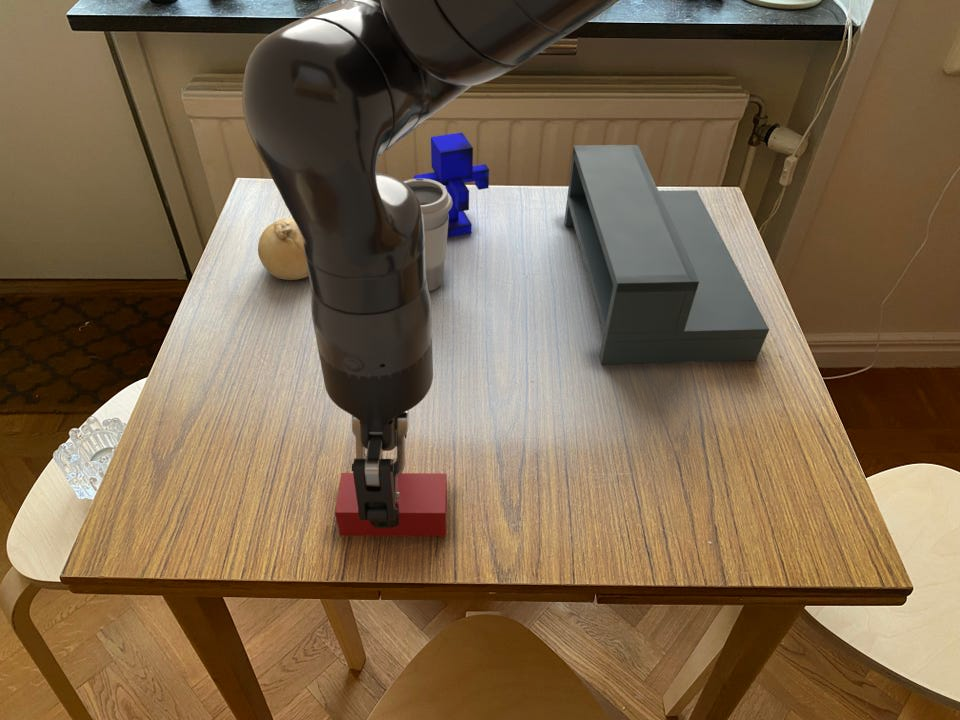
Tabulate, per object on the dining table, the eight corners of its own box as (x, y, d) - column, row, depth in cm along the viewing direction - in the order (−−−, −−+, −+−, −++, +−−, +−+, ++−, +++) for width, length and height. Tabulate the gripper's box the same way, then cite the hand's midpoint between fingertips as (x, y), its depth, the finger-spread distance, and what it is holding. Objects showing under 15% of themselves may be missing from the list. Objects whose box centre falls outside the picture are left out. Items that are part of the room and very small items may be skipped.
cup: (452, 262, 87) (451, 175, 79) (454, 297, 83) (453, 208, 74) (394, 263, 87) (387, 176, 78) (392, 298, 82) (385, 209, 74)
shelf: (756, 360, 76) (790, 279, 68) (601, 364, 75) (617, 283, 67) (689, 219, 95) (709, 143, 88) (564, 221, 94) (573, 145, 87)
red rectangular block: (447, 496, 63) (446, 473, 60) (446, 536, 60) (445, 513, 58) (345, 496, 63) (341, 472, 60) (339, 535, 60) (334, 512, 57)
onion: (254, 260, 87) (241, 210, 82) (315, 242, 90) (306, 193, 85) (276, 296, 82) (264, 246, 77) (340, 276, 85) (332, 226, 80)
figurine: (412, 234, 91) (408, 148, 83) (440, 205, 96) (438, 122, 88) (465, 250, 89) (466, 163, 81) (490, 220, 94) (493, 135, 86)
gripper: (426, 415, 41) (432, 556, 53) (435, 266, 51) (439, 411, 63) (297, 414, 41) (331, 555, 53) (332, 264, 51) (354, 410, 63)
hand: (390, 477), depth 58 cm, fingers open, 8 cm apart
